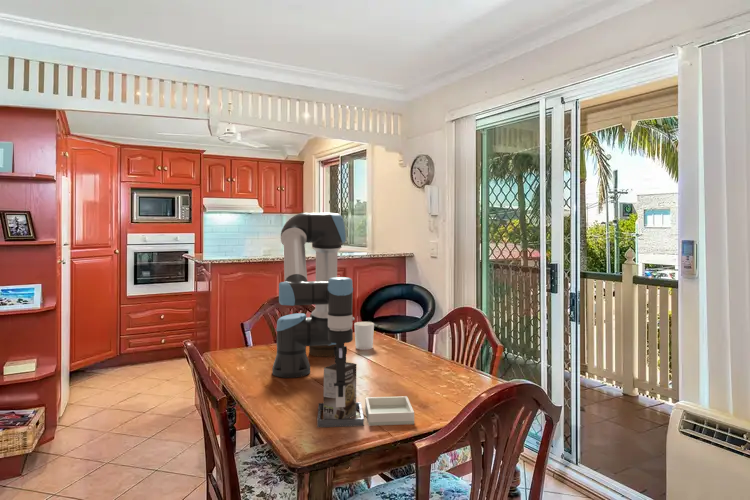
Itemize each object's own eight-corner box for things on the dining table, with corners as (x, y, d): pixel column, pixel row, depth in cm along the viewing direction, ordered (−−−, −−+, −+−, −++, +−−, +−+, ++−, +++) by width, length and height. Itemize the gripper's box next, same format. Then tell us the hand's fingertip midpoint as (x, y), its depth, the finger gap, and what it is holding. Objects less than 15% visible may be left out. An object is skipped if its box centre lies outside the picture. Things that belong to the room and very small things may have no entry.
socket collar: (317, 427, 134) (317, 420, 134) (318, 409, 148) (318, 403, 147) (363, 425, 135) (363, 419, 135) (361, 408, 149) (361, 402, 149)
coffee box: (339, 424, 136) (339, 370, 135) (322, 420, 139) (322, 367, 139) (357, 414, 144) (357, 363, 143) (340, 410, 147) (340, 360, 146)
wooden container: (345, 355, 214) (345, 307, 213) (313, 358, 208) (313, 309, 207) (335, 347, 227) (335, 303, 226) (305, 350, 221) (305, 305, 221)
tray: (368, 425, 135) (368, 413, 135) (365, 408, 149) (365, 397, 149) (414, 424, 137) (414, 412, 136) (407, 406, 150) (407, 396, 150)
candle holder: (373, 350, 222) (374, 325, 222) (353, 350, 222) (353, 325, 222) (374, 345, 232) (374, 321, 232) (354, 345, 232) (354, 321, 232)
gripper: (354, 336, 129) (354, 414, 130) (351, 320, 152) (351, 387, 153) (327, 337, 129) (327, 415, 129) (328, 321, 152) (328, 387, 152)
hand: (340, 399), depth 141 cm, fingers closed on coffee box, 11 cm apart
